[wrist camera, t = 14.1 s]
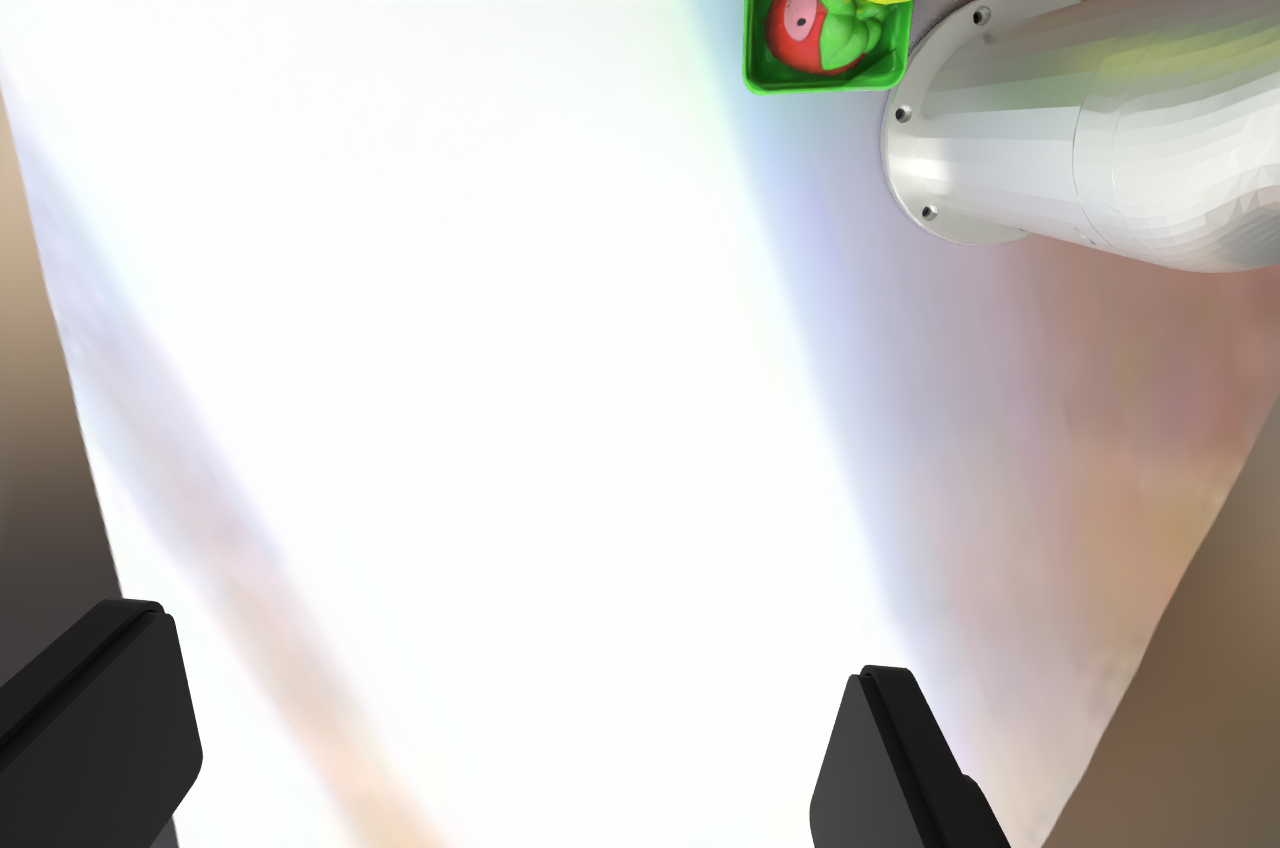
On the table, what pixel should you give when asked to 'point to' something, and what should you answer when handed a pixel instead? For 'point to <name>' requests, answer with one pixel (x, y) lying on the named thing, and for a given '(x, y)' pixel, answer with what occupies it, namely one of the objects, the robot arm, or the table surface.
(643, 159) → the table surface
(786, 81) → the fruit basket
